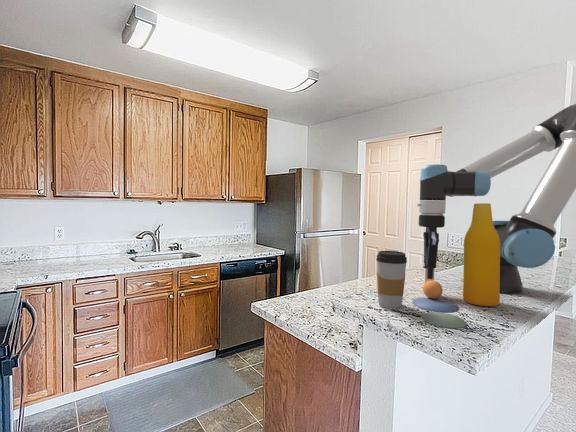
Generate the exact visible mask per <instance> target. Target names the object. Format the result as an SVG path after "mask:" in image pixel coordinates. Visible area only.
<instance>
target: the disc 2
mask: <svg viewBox="0 0 576 432" xmlns="http://www.w3.org/2000/svg"><path fill="white" fill-rule="evenodd" d="M421 319H422V320H423V321H424V322H425V323H429V325H433V326H436V327H441V328H446V329H461V328H465V327H466V326H467V322H466V320H464V319H463V318H462V317H459V316H457V315H454V314H450V313H447V312H435V311H430V312H424V313H422V315H421Z"/></svg>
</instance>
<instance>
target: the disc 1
mask: <svg viewBox="0 0 576 432" xmlns="http://www.w3.org/2000/svg"><path fill="white" fill-rule="evenodd" d="M412 304H413V305H414V306H415V307H417V308H420V309H422V310H426V311H430V312H439V313H453V312H457V311H458V310H459V306H458V305H457V304H456V303H454V302H451V301H449V300H445V299H441V298H436V299H431V298H428V297H417V298H414V299H413V300H412Z"/></svg>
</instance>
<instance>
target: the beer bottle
mask: <svg viewBox="0 0 576 432" xmlns="http://www.w3.org/2000/svg"><path fill="white" fill-rule="evenodd" d="M493 221H494V220H493V213H492V205H491V203H482V202H481V203H473V210H472V217H471V223H470V225H469V228H468V229H467V230H466V233H465V235H464V239H463V277H462V278H463V282H462V283H463V284H462V285H463V286H462V287H463V288H462V297H463V300H464V302H466V303H468V304H472V305H475V306H481V307H496V306H498V305H499V304H500V300H501V299H500V298H501V296H500V295H501V292H500V239H499V236H498V233H497V231H496V230H495V228H494V225H493Z"/></svg>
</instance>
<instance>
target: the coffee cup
mask: <svg viewBox="0 0 576 432" xmlns="http://www.w3.org/2000/svg"><path fill="white" fill-rule="evenodd" d="M377 252H378V253H377V255H376V260H375V261H376V285H377V288H376V289H377V301H378V305H379V306H381V307H382V308H384V309H390V308H392V309H393V308H394V309H396V308H397V309H400V308H401V306H402V305H403V297H404V289H405V281H406V267H407V263H408V260H407V259H408V258H407V257H408V256H406V253H405V252H402V251H397V250H379V251H377ZM392 309H391V310H392ZM394 309H393V310H394Z"/></svg>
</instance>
